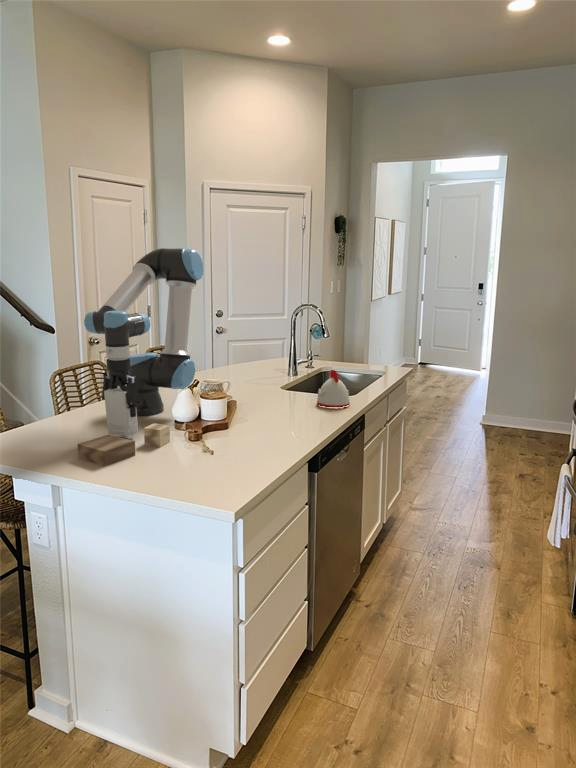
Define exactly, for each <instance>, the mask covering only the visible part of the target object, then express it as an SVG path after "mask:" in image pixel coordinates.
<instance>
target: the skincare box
mask: <svg viewBox="0 0 576 768" xmlns="http://www.w3.org/2000/svg"><path fill="white" fill-rule="evenodd" d="M126 393H127V392H125V391H122V389H120V386H118V387H117V388H113V389H108V390H105V391H104V397H105V400H104V403H105V404H104V405H105V415H106V427H107V435H112V436H117V437H120V436H121V437H130V436H132V435H134V434H136V433H137V432H139V426H138V425H139V424H138V415H137V411H136V416H135V420H136V425H135V426H131V427H128V419H127V407H129V406H128V404H127V401H126ZM131 404H132V403H131Z"/></svg>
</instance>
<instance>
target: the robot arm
mask: <svg viewBox="0 0 576 768" xmlns="http://www.w3.org/2000/svg"><path fill="white" fill-rule="evenodd" d="M203 275H204V263H203V259H202V257H201V254H200V253H199V252H198V251H197V250H196V249H192V248H191V249H190V248H164V247H163V248H157V249H155V250H152V251H150V252H148V253H147V254H145V255H144V256H142V257H140V259H139V260H138V261H137V262H136V263H135V264H134V265H133V267H132V272H131V273H130V274H129V275H128V276H127V277H126V279H125V280H124V281H123V282H122V283H121V284H120V285H119V286H118V288H117V289H116V290H115V291H114V292H113V294H112V295H111V296H110V297H109V298H108V299H107V300H106V301H105V302H104V304H103V305H102V306H101V308H100V309H98V311H96V310H93V311H90V312H87V313H86V314H85V316H84V319H83V324H84V327H85V330H86V331H87V332H88V333H92V334H97V335H104V338H105V357H106V358H107V359H106V360H105V361H106V370H107V371H106V372H103V373H102V378H103V381H102V392H101V400H103V401H105V397H104V391H105V390H108V389H113V388H117V387H120V389H122V391H125V392H127V393H126V401H127V404H128V406H129V407H127V419H128V427H131V426H135V425H136V420H135V416H136V411H137V416H151V415H153V416H154V415H157V414H160V413H163V412H164V410H165V407H164V405H165V404H164V402H163V401H162V397H161V393H160V390H159V389H160V388H164V389H173V390H185V389H187V388H188V387H190V385H191V384H192V383H193V380H194V378H195V374H196V366H195V362H194V361H193V360H192V359H191V354H190V353H189V351H188V341H189V327H190V316H191V306H192V305H191V304H192V292H193V291H192V290H193V289H194V288H196V286H197V281H199V280H201V279H202V277H203ZM162 279H164V280H165V283H166V285H167V286H168V297H167V299H168V300H167V313H166V324H165V325H166V326H165V337H164V348H163V349H162V350H161V351H160V353H159V354H158V353H157V352H145V353H138V354H137V353H136V354H132V355H131V352H130V351H131V350H130V338H133V337H137V336H142V335H144V334H146V333H148V332H149V330H150V329H151V320H150V318H149V317H148V315H146V314H145V313H143V312H134V313H128V312H127V311H128V310H129V309H130V308H131V306H132V305H133V304H134V303H135V302H136V301H137V299H138V298H139V297H140V296H141V294H142V293H144V290H146V288H147V287H148V286H150V285H153V284H154V283H155V282H156V281H157V280H162ZM186 387H187V388H186ZM184 388H185V389H184ZM131 403H132V404H131Z"/></svg>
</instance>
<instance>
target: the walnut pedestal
mask: <svg viewBox="0 0 576 768" xmlns="http://www.w3.org/2000/svg"><path fill="white" fill-rule="evenodd" d="M135 456H136V440H132V439H127V438H123V437H120V436H117V435H109V434H105V435H103V436H100V437H99V436H98V437H96V438H93V439H90V440H86V441H84V442H80V443H78V444H77V457H78V460H82V461H85V462H89V463H92V464H95V465H99V466H103V467H108V466H111V465H114V464H116V463H118V462H121V461H124V460H127V459H128V458H129V459H130V458H133V457H135Z"/></svg>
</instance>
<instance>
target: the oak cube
mask: <svg viewBox="0 0 576 768" xmlns="http://www.w3.org/2000/svg"><path fill="white" fill-rule="evenodd" d="M170 427H171V426H170V425H169V424H161V423H154V422H153V423H151V424H150V425H147V426H145V427H143V436H144V437H143V438H144V440H143V442H144V446H148V447H153V448H162V447H164V446H166V445H167V444H169V443H171V434H170V433H171V432H170V429H171V428H170Z"/></svg>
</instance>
